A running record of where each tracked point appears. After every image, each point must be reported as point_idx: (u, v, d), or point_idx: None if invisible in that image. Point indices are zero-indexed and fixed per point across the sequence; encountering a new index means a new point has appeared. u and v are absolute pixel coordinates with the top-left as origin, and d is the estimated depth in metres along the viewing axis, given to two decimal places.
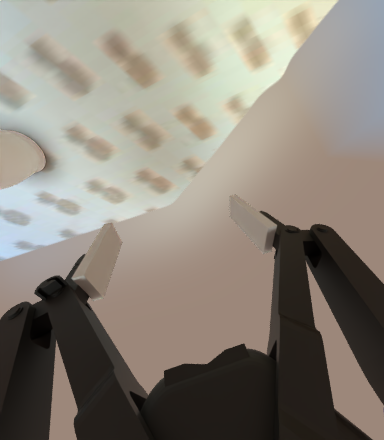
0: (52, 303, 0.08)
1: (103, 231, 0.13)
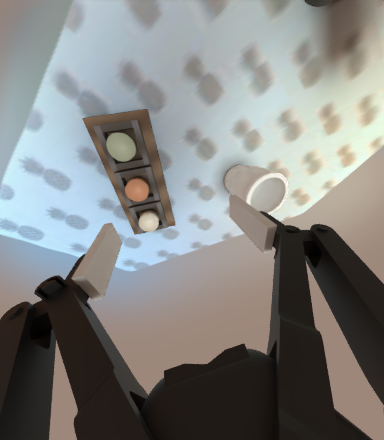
0: (52, 303, 0.08)
1: (103, 231, 0.13)
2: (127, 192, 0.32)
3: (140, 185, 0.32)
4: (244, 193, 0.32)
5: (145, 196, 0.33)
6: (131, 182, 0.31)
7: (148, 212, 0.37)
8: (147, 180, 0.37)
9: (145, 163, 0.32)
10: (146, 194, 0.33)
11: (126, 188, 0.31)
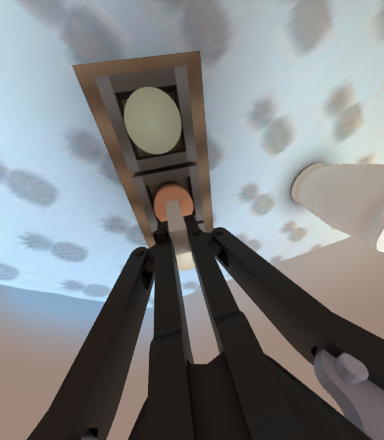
0: (158, 247, 0.10)
1: (168, 205, 0.16)
2: (158, 210, 0.18)
3: (181, 197, 0.17)
4: (371, 213, 0.18)
5: None
6: (166, 193, 0.17)
7: None
8: None
9: (190, 159, 0.17)
10: (189, 213, 0.19)
11: (156, 204, 0.17)
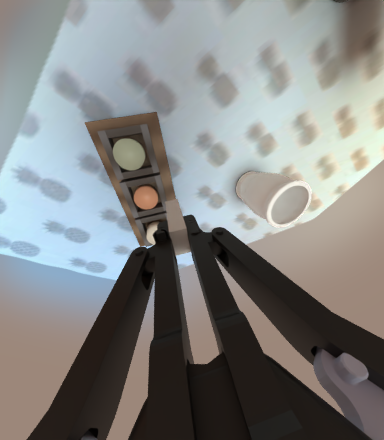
0: (158, 247, 0.10)
1: (168, 205, 0.16)
2: (136, 200, 0.30)
3: (149, 192, 0.30)
4: (263, 202, 0.30)
5: (154, 203, 0.32)
6: (140, 189, 0.29)
7: (156, 224, 0.34)
8: None
9: (154, 171, 0.29)
10: (155, 201, 0.31)
11: (135, 196, 0.30)
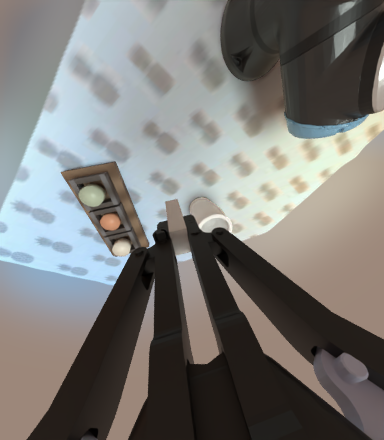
0: (158, 247, 0.10)
1: (168, 205, 0.16)
2: (102, 224, 0.40)
3: (112, 218, 0.40)
4: None
5: (117, 226, 0.42)
6: (104, 217, 0.40)
7: (120, 240, 0.44)
8: None
9: (114, 204, 0.39)
10: (118, 225, 0.42)
11: (101, 221, 0.40)
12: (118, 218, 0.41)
